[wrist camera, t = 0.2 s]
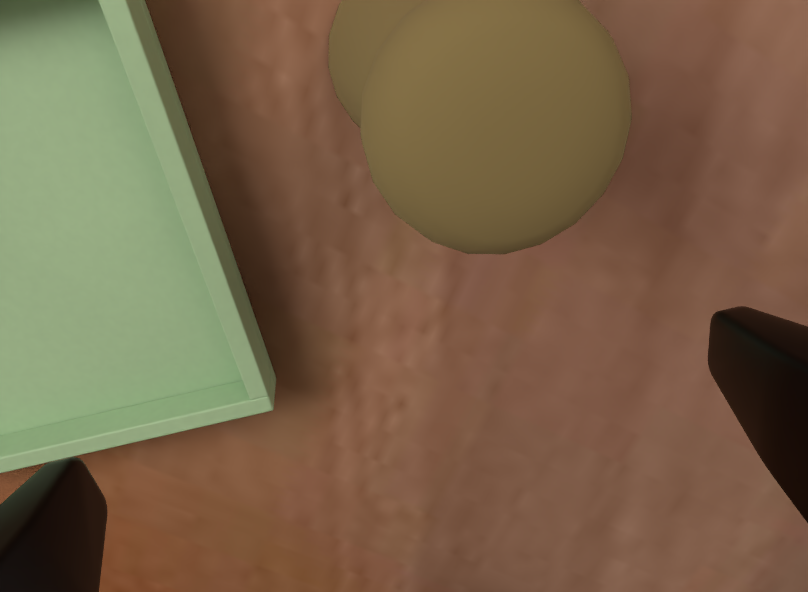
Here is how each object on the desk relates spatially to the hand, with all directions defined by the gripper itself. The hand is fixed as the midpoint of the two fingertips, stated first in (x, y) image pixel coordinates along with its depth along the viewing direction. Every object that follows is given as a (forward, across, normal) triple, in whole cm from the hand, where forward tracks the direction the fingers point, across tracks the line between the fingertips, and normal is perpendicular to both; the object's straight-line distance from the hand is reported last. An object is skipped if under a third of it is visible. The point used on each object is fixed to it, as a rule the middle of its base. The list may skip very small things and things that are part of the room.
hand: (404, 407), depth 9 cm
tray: (+14, +12, +1) cm, 19 cm away
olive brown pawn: (+15, -3, -2) cm, 15 cm away
